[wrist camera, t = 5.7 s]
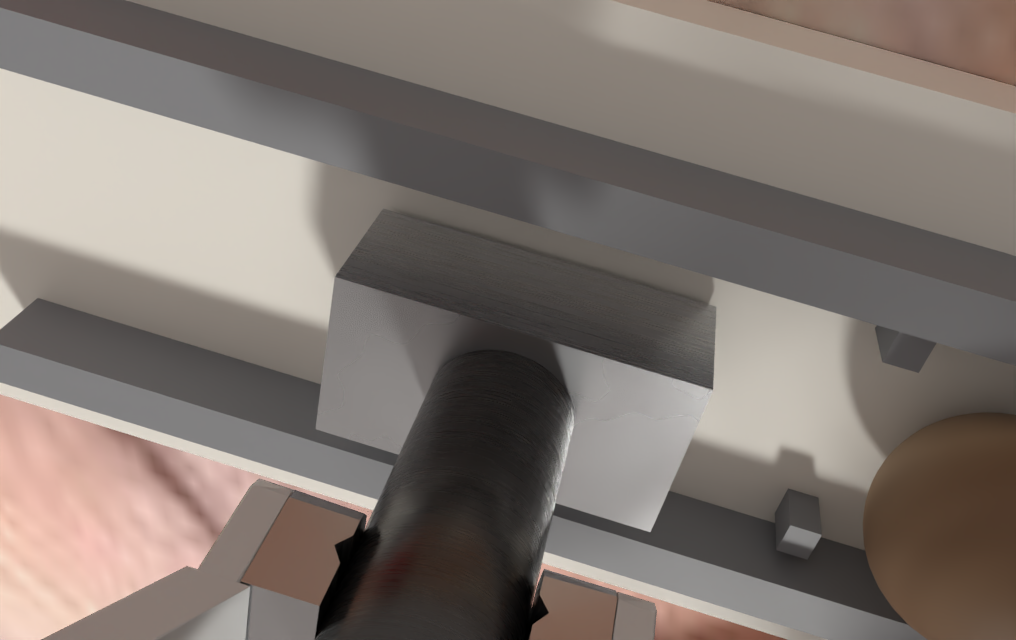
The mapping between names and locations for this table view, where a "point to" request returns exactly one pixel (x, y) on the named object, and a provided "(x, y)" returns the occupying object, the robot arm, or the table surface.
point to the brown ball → (948, 528)
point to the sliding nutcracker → (520, 243)
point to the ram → (496, 418)
